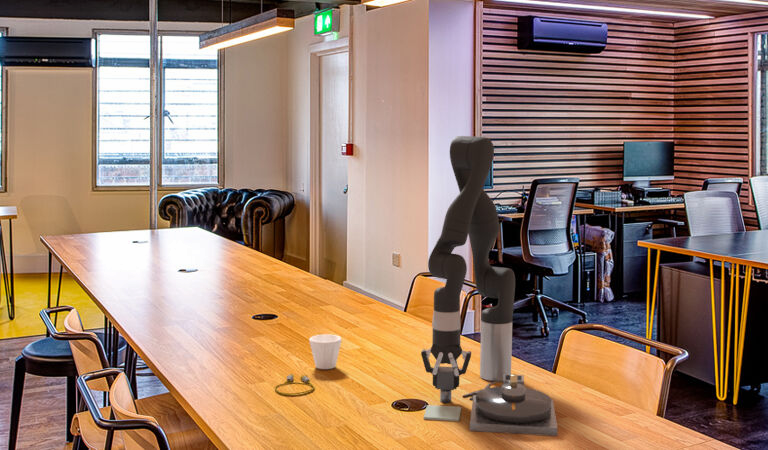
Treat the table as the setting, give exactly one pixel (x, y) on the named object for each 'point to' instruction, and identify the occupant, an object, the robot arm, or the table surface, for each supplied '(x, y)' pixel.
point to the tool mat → (442, 413)
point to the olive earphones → (290, 378)
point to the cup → (325, 350)
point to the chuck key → (445, 383)
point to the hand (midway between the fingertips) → (445, 387)
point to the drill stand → (513, 424)
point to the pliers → (479, 390)
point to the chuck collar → (513, 402)
